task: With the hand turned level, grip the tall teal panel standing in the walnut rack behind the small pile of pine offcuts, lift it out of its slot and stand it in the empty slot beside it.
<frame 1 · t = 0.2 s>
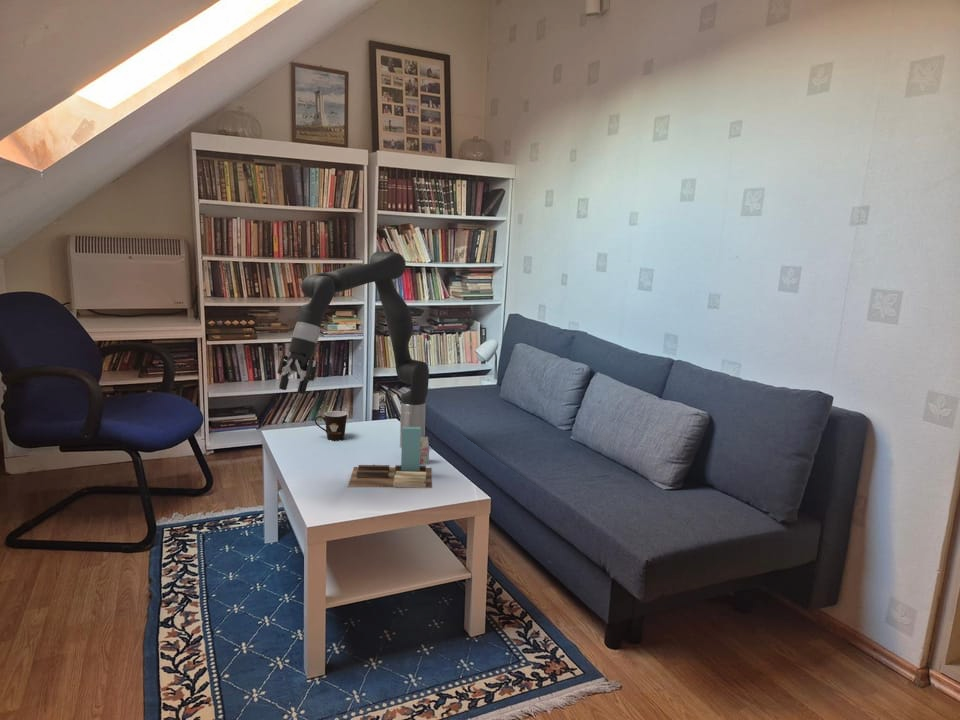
hand: (291, 391, 189), 31 cm above the table, tool tilted 20°, fingers open, 8 cm apart
walnut rack: (391, 479, 205), on the table
tea bag: (417, 465, 220), on the table
teal panel: (410, 474, 207), point 1 cm above the table, touching walnut rack
pine offcuts: (409, 483, 199), point 1 cm above the table, touching walnut rack
coffee mug: (332, 438, 246), on the table
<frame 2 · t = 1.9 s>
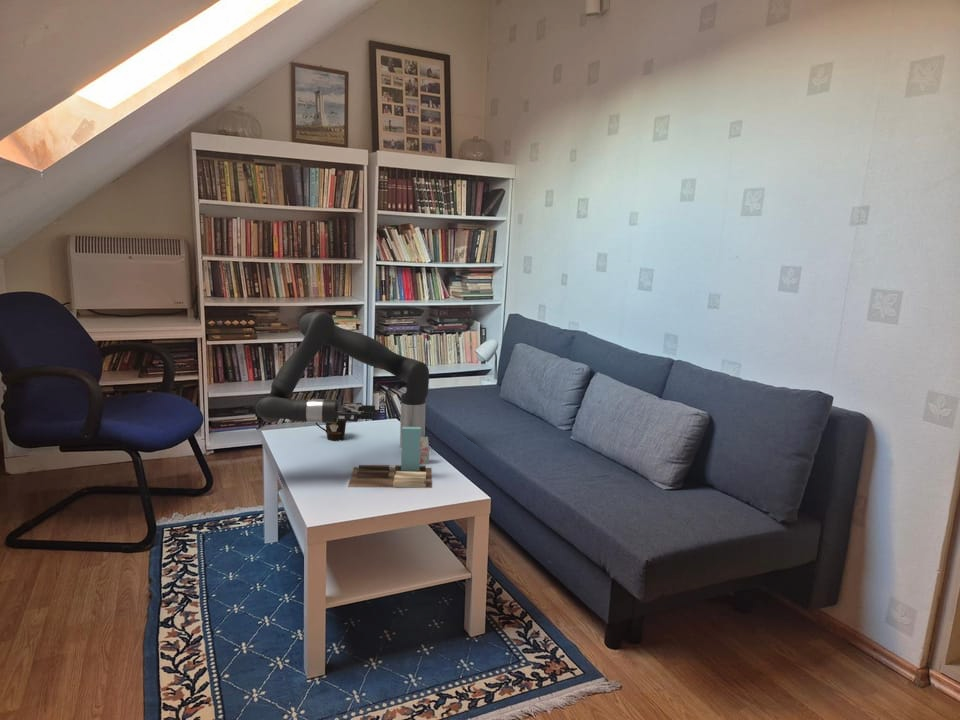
hand: (373, 412, 202), 22 cm above the table, tool horizontal, fingers open, 8 cm apart
nothing on the table moved.
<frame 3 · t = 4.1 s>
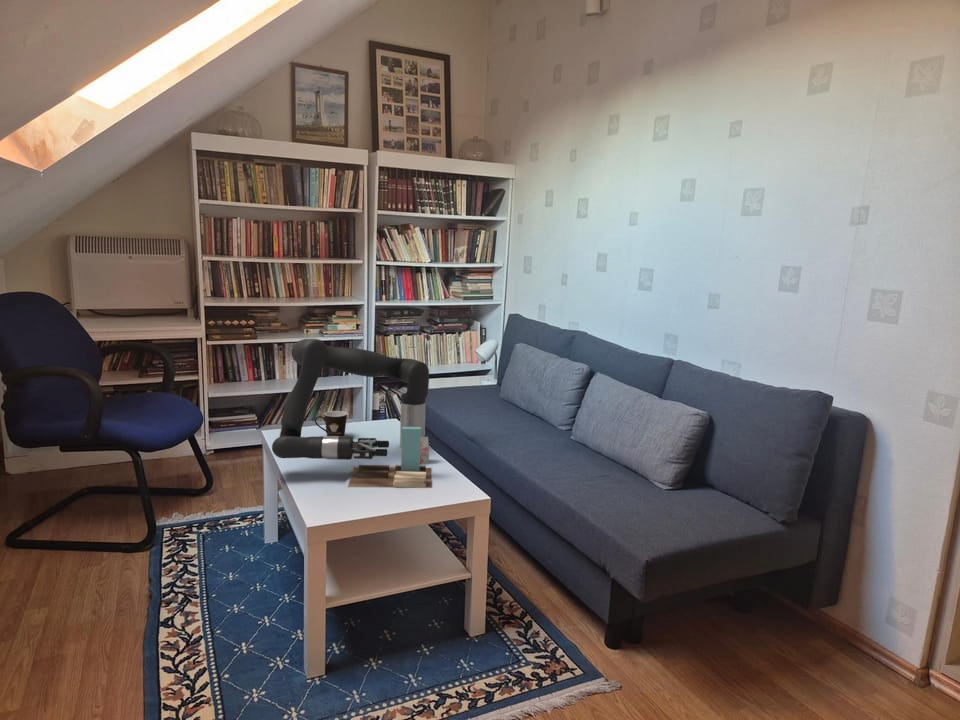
hand: (388, 448, 205), 10 cm above the table, tool horizontal, fingers open, 8 cm apart
nothing on the table moved.
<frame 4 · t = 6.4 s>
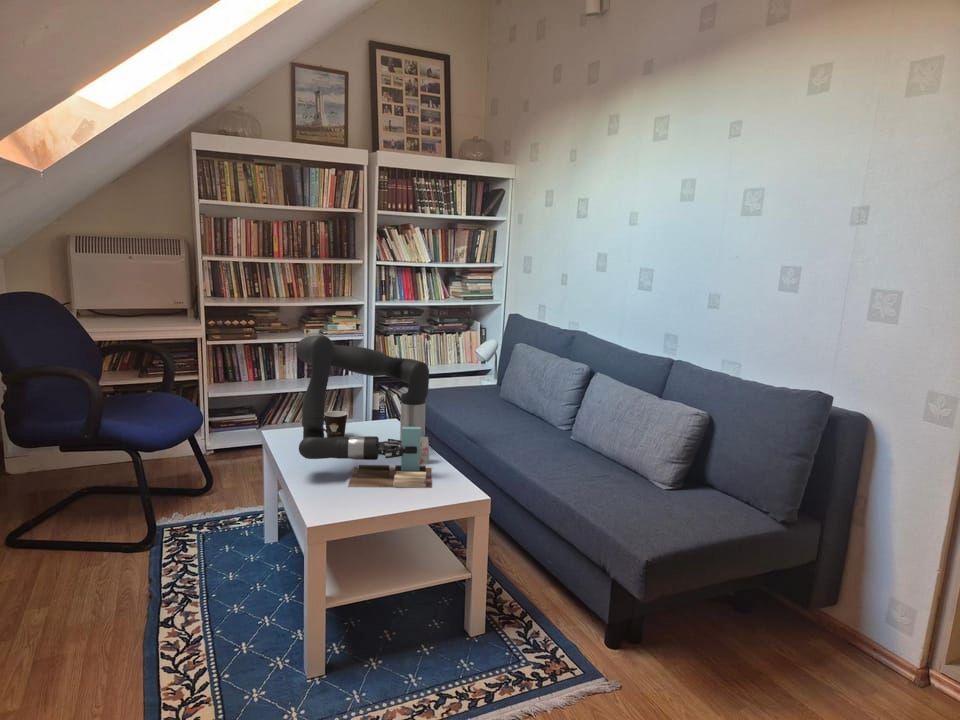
hand: (416, 448, 206), 10 cm above the table, tool horizontal, fingers closed on teal panel, 2 cm apart
teal panel: (410, 474, 207), point 1 cm above the table, touching gripper, walnut rack
everything else where it was.
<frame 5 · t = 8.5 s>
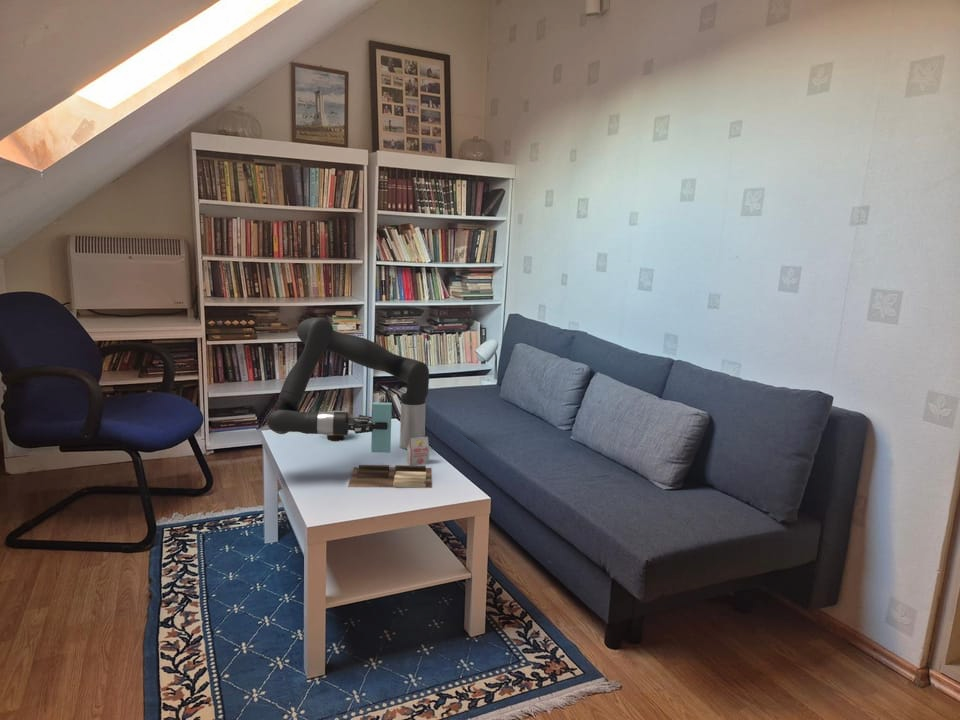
hand: (387, 424, 203), 18 cm above the table, tool horizontal, fingers closed on teal panel, 2 cm apart
teal panel: (380, 451, 205), point 9 cm above the table, touching gripper
everything else where it was.
when the fingers open (11 cm above the table, at t = 10.7 s): teal panel stays where it is, resting on walnut rack.
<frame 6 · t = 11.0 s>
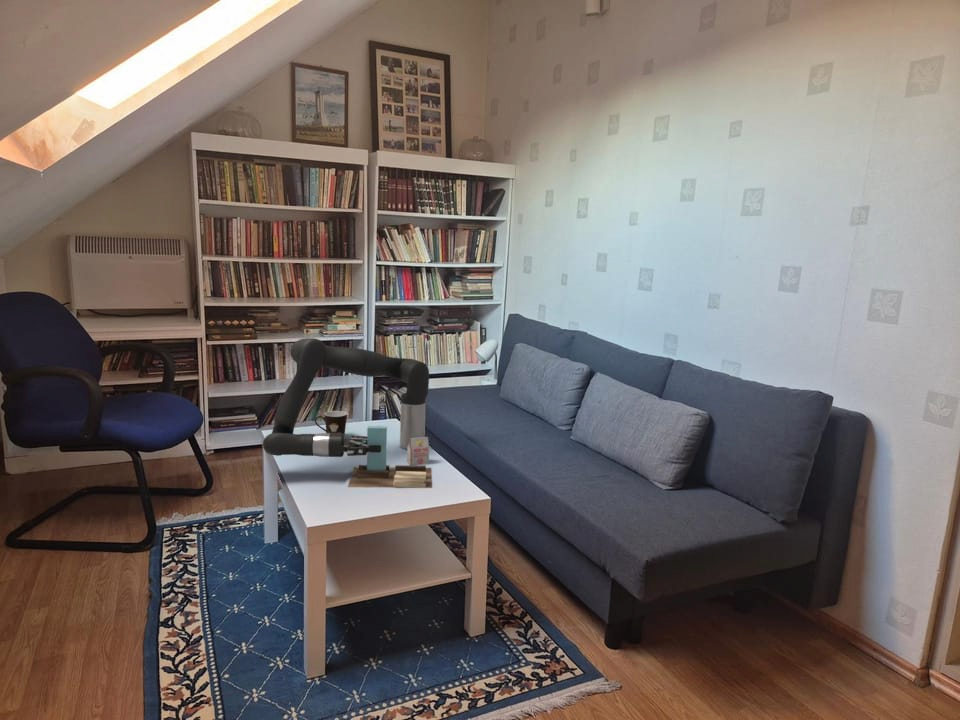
hand: (381, 445, 205), 11 cm above the table, tool horizontal, fingers open, 5 cm apart
teal panel: (376, 474, 206), point 1 cm above the table, touching walnut rack
everything else where it was.
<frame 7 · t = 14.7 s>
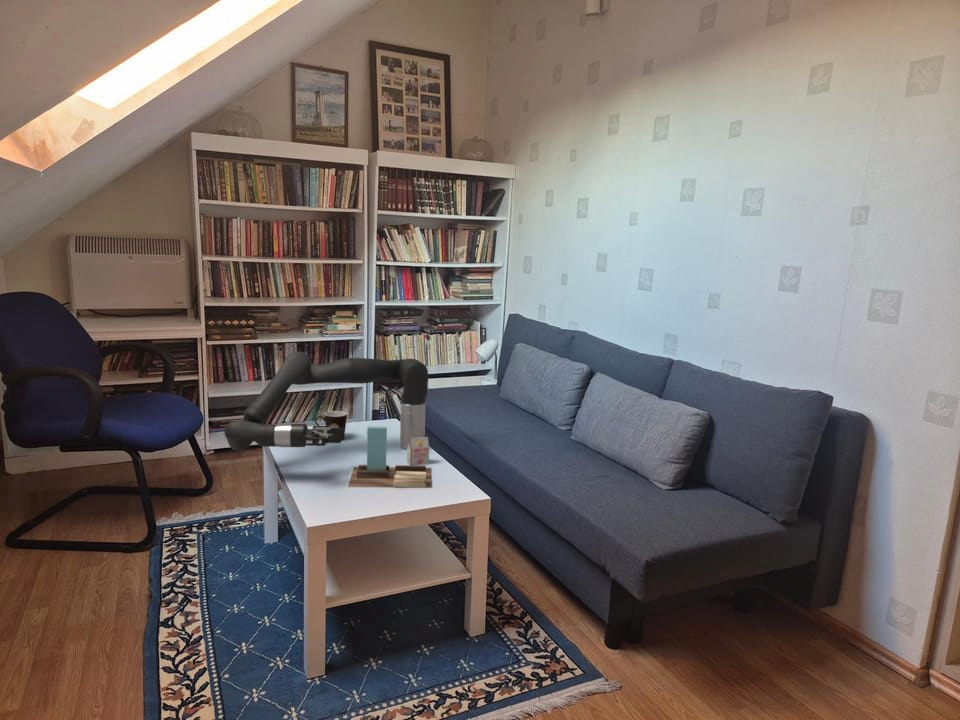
hand: (342, 435, 203), 14 cm above the table, tool horizontal, fingers open, 8 cm apart
nothing on the table moved.
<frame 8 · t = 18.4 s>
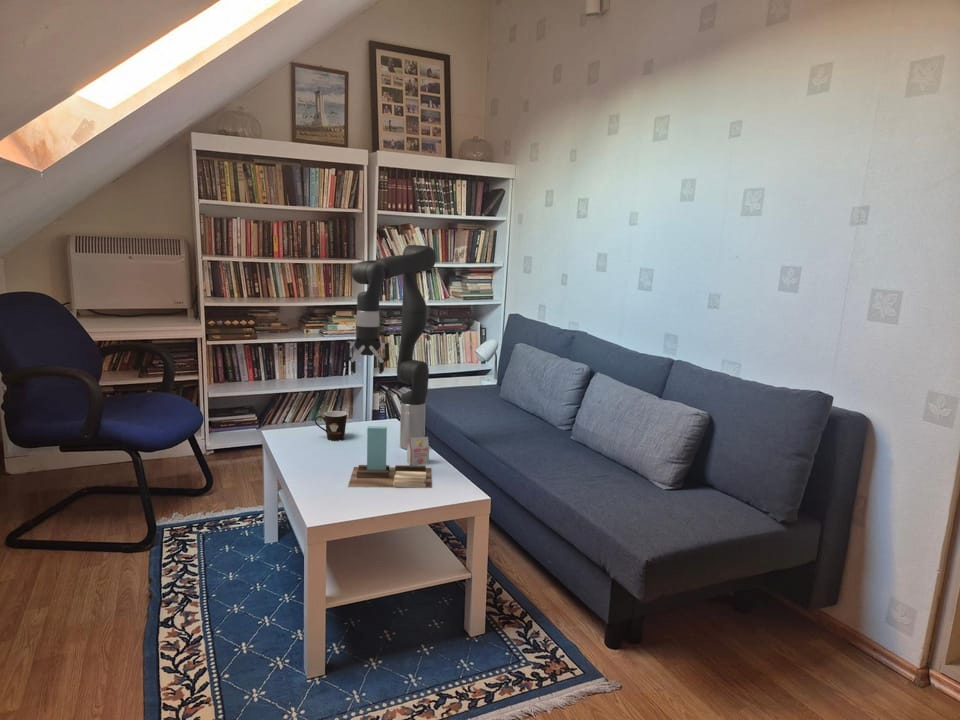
hand: (367, 373, 208), 33 cm above the table, tool pointing down, fingers open, 8 cm apart
nothing on the table moved.
at the end: teal panel 1.0 cm from the target spot, point 1.0 cm above the table; teal panel tilted 0°; pine offcuts moved 0.0 cm from its start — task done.
